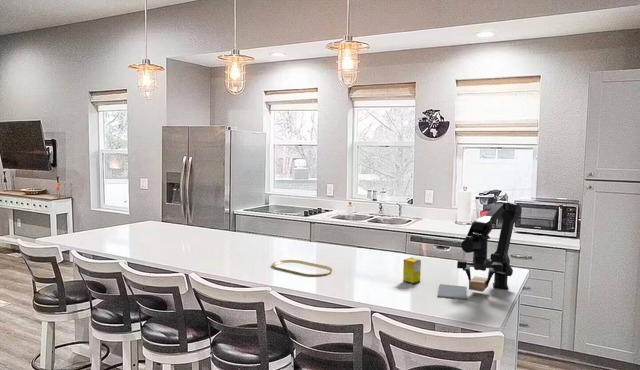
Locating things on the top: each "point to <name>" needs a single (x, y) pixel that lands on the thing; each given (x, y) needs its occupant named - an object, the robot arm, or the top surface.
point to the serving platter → (304, 264)
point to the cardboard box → (478, 284)
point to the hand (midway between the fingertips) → (478, 284)
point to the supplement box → (411, 270)
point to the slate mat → (452, 291)
